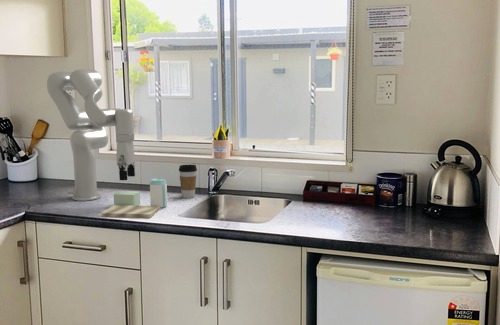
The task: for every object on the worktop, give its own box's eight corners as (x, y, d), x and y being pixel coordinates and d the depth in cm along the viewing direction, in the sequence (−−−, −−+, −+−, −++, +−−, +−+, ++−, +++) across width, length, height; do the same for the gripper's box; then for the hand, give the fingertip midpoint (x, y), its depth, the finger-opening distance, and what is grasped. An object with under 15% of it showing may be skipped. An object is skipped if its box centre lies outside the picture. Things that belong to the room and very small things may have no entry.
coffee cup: (188, 199, 249) (188, 166, 247) (175, 197, 254) (174, 165, 252) (201, 196, 255) (200, 164, 253) (188, 194, 261) (187, 162, 258)
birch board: (101, 216, 218) (101, 212, 218) (114, 208, 232) (114, 204, 232) (150, 218, 216) (150, 214, 216) (160, 209, 230) (160, 206, 230)
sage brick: (114, 207, 234) (113, 194, 233) (120, 204, 241) (120, 190, 240) (134, 208, 232) (133, 194, 232) (140, 204, 239) (139, 191, 238)
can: (147, 206, 235) (146, 179, 233) (160, 204, 240) (160, 177, 238) (157, 209, 230) (156, 181, 228) (170, 206, 235) (169, 179, 233)
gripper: (123, 136, 241) (125, 175, 243) (109, 140, 224) (111, 181, 226) (140, 136, 240) (142, 174, 242) (126, 140, 223) (129, 181, 225)
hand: (127, 178), depth 234 cm, fingers open, 9 cm apart
